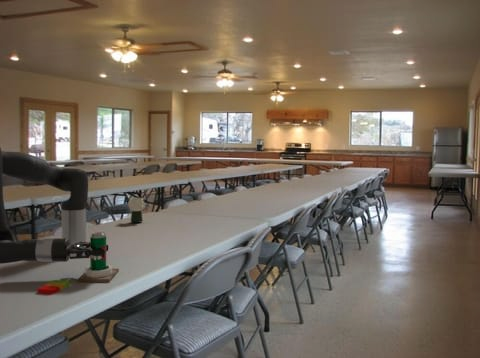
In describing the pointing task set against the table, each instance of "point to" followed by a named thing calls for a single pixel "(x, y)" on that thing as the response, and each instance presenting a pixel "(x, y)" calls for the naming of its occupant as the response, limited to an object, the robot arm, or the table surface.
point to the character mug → (136, 209)
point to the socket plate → (98, 275)
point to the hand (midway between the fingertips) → (106, 250)
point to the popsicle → (54, 286)
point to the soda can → (98, 243)
